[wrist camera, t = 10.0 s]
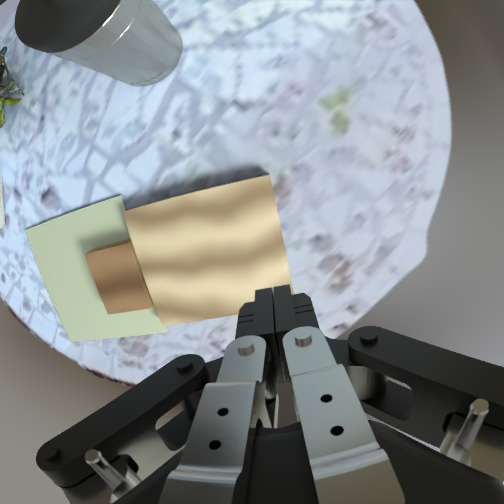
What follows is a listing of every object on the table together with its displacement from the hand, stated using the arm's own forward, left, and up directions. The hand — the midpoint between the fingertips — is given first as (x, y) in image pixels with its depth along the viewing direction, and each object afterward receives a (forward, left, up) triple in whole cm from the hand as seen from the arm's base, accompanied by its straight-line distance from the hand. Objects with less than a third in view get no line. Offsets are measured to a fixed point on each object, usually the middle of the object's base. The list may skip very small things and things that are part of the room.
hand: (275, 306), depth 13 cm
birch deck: (+4, -8, -24) cm, 26 cm away
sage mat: (+4, -27, -24) cm, 37 cm away
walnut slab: (+5, -21, -24) cm, 32 cm away
